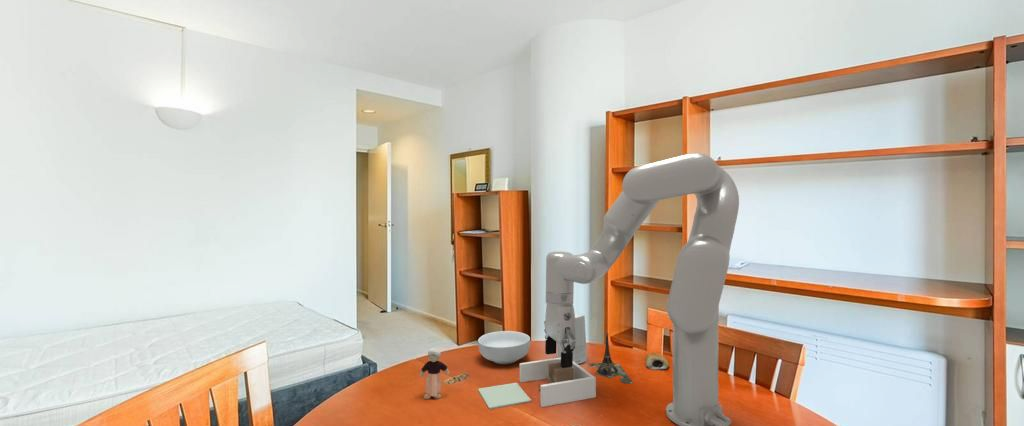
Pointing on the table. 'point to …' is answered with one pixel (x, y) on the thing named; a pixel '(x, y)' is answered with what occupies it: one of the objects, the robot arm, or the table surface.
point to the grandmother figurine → (433, 374)
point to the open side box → (563, 390)
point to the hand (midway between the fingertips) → (558, 360)
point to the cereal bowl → (504, 346)
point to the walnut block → (559, 373)
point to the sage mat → (503, 395)
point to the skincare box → (577, 341)
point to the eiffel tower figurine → (610, 367)
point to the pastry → (656, 361)
